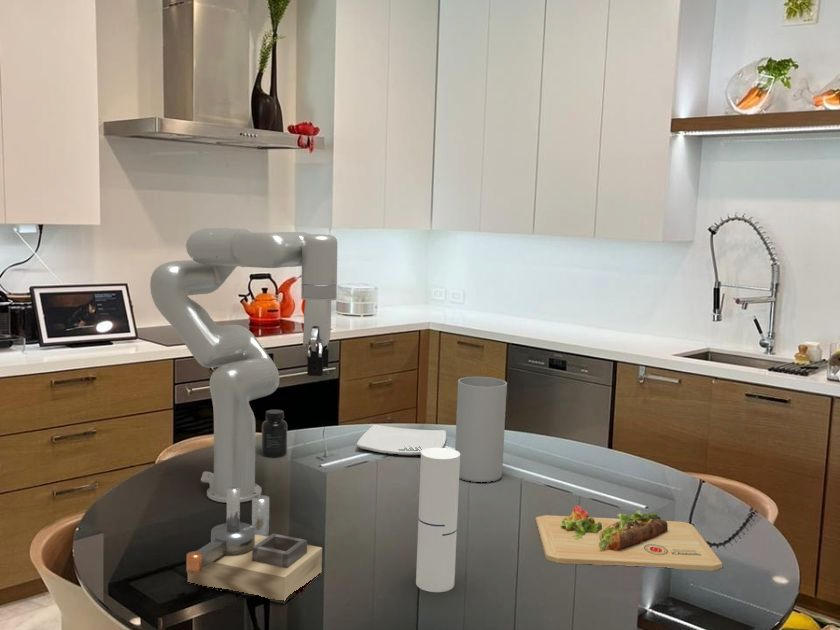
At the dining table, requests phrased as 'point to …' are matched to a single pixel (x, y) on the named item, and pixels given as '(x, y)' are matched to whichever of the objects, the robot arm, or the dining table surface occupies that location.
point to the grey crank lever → (224, 537)
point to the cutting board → (624, 541)
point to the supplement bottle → (274, 434)
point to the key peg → (260, 515)
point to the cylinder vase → (480, 428)
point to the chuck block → (264, 568)
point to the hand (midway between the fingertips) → (318, 371)
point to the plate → (400, 440)
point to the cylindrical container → (437, 519)
